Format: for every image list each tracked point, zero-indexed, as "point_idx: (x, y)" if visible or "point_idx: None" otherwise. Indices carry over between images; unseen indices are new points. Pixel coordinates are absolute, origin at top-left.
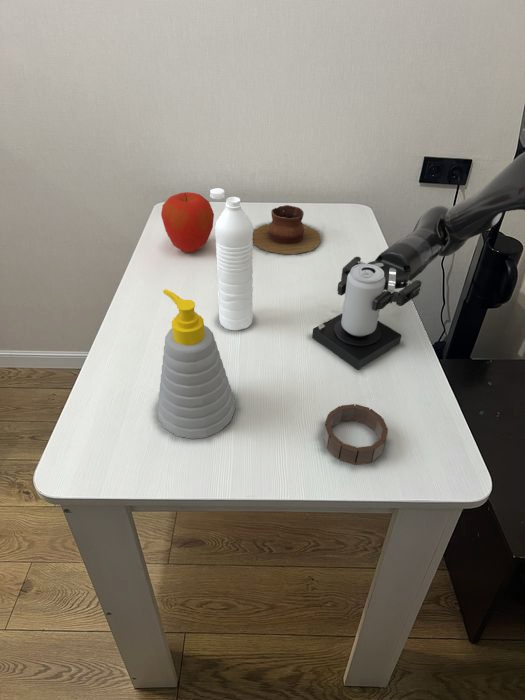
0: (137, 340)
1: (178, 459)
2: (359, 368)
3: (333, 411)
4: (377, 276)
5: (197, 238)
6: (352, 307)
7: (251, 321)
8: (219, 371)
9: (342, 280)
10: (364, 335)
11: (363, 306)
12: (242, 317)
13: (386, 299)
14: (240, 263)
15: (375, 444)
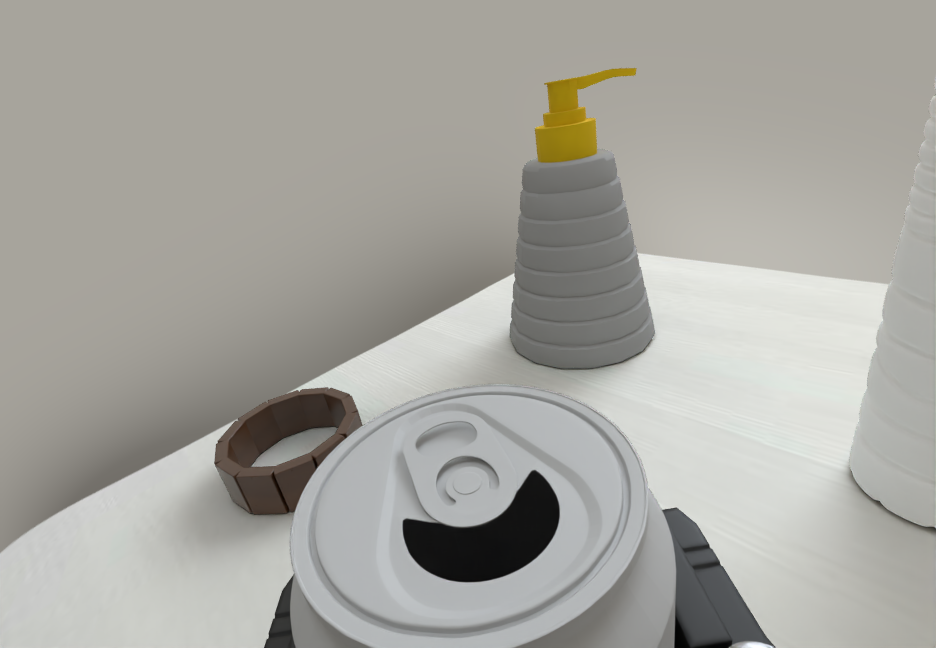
0: (858, 313)
1: (509, 306)
2: None
3: (350, 418)
4: (347, 498)
5: None
6: (495, 552)
7: (893, 503)
8: (529, 244)
9: (715, 565)
10: None
11: (424, 558)
12: (861, 429)
13: (271, 640)
14: (917, 183)
15: (236, 427)
